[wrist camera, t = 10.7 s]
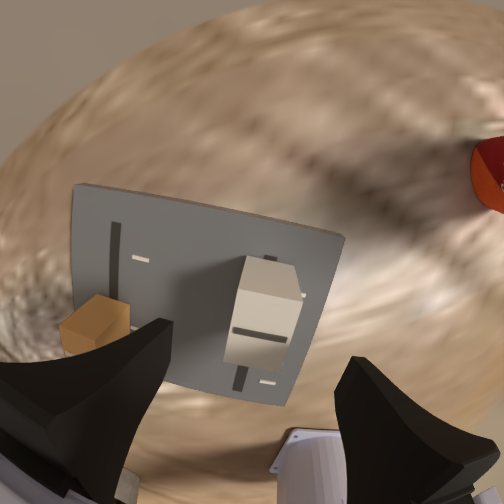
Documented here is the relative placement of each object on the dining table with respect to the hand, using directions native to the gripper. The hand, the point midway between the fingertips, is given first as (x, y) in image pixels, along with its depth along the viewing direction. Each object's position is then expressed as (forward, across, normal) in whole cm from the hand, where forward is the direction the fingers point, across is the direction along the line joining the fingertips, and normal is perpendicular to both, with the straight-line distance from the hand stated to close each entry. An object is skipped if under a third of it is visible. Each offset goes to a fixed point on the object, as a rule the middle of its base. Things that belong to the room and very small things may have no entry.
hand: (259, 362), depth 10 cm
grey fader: (+7, 0, 0) cm, 7 cm away
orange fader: (+7, +10, +5) cm, 13 cm away
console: (+8, +5, +3) cm, 10 cm away
